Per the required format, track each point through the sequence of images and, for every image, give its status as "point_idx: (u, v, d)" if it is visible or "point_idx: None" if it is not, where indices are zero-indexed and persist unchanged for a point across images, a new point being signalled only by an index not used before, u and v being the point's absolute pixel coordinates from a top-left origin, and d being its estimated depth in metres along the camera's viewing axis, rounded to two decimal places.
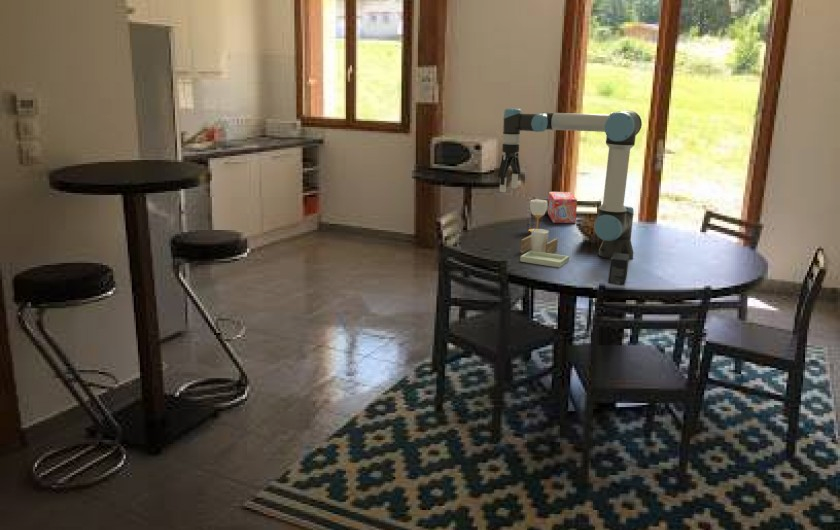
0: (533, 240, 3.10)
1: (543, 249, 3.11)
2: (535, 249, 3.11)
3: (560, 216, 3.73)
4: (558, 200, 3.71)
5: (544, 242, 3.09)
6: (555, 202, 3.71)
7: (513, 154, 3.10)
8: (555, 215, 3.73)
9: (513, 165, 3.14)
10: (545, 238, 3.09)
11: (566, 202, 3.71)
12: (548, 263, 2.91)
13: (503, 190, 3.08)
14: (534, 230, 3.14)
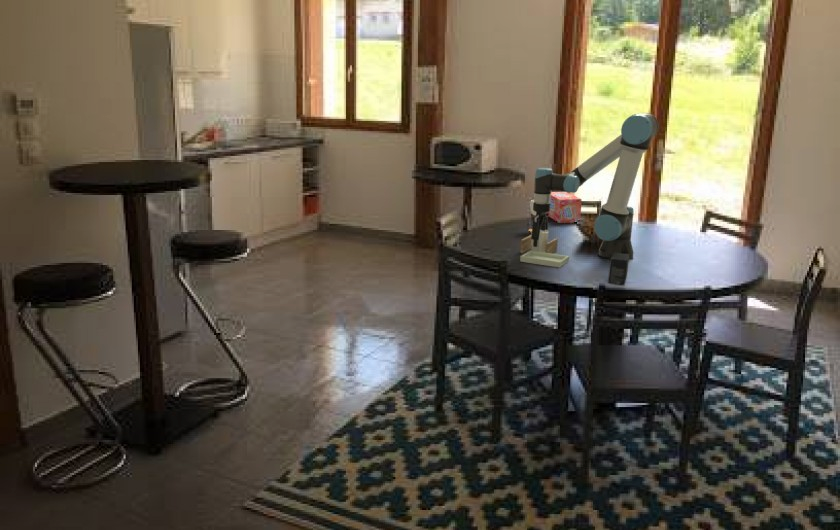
0: None
1: (543, 249, 3.11)
2: None
3: (566, 216, 3.73)
4: (564, 200, 3.70)
5: (544, 242, 3.09)
6: (561, 202, 3.71)
7: (544, 211, 3.09)
8: (561, 215, 3.72)
9: (542, 225, 3.13)
10: (545, 238, 3.09)
11: (571, 202, 3.71)
12: (548, 263, 2.91)
13: None
14: None
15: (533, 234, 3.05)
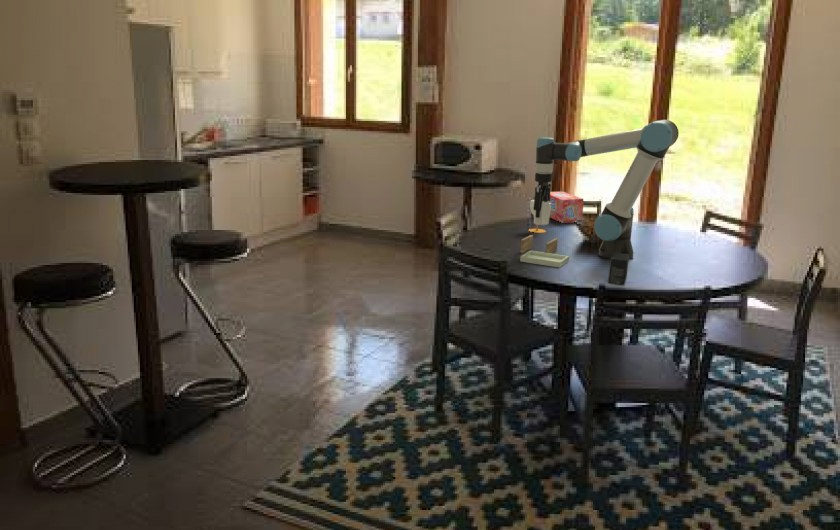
0: None
1: (546, 220, 3.07)
2: None
3: (568, 216, 3.73)
4: (566, 200, 3.70)
5: (546, 213, 3.06)
6: (564, 202, 3.71)
7: (546, 182, 3.06)
8: (564, 215, 3.72)
9: (544, 196, 3.09)
10: (547, 209, 3.05)
11: (574, 202, 3.72)
12: (548, 263, 2.91)
13: (538, 223, 3.06)
14: None
15: (535, 204, 3.02)
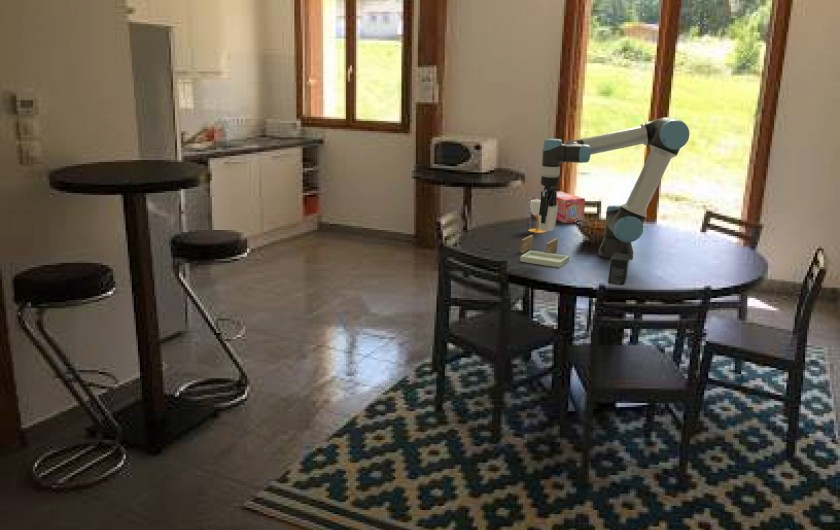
0: None
1: (551, 226, 2.91)
2: None
3: (571, 216, 3.73)
4: (569, 200, 3.71)
5: (552, 218, 2.90)
6: (566, 203, 3.71)
7: (553, 186, 2.90)
8: (566, 215, 3.72)
9: (551, 200, 2.93)
10: (553, 214, 2.90)
11: (576, 202, 3.72)
12: (548, 263, 2.91)
13: (544, 229, 2.90)
14: None
15: (541, 209, 2.86)
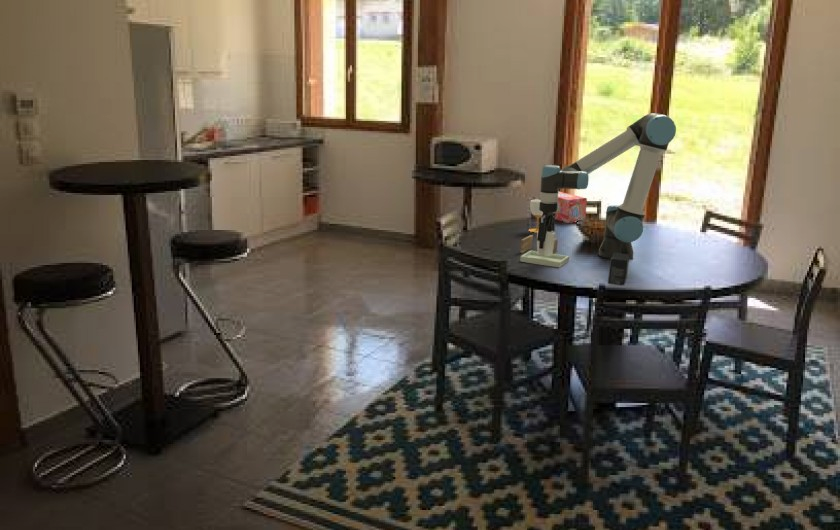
0: None
1: (549, 251, 2.94)
2: None
3: (574, 216, 3.74)
4: (572, 200, 3.71)
5: (550, 244, 2.93)
6: (569, 202, 3.71)
7: (551, 211, 2.93)
8: (569, 215, 3.73)
9: (549, 226, 2.96)
10: (552, 239, 2.93)
11: (578, 201, 3.73)
12: (548, 263, 2.91)
13: (542, 254, 2.93)
14: None
15: (539, 235, 2.89)
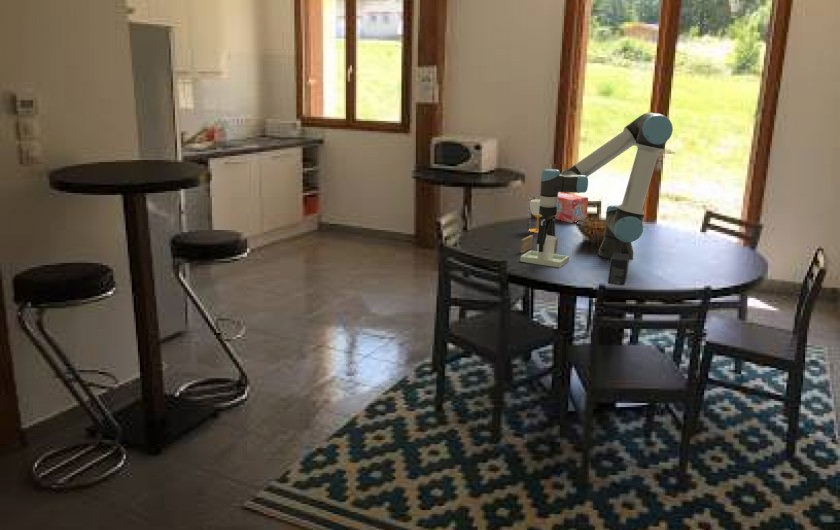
0: None
1: (550, 256, 2.95)
2: None
3: (576, 216, 3.75)
4: (575, 200, 3.72)
5: (551, 249, 2.94)
6: (573, 202, 3.71)
7: (551, 215, 2.93)
8: (573, 215, 3.73)
9: (549, 229, 2.97)
10: (552, 245, 2.94)
11: (581, 201, 3.74)
12: (548, 263, 2.91)
13: (541, 257, 2.93)
14: None
15: (539, 238, 2.89)
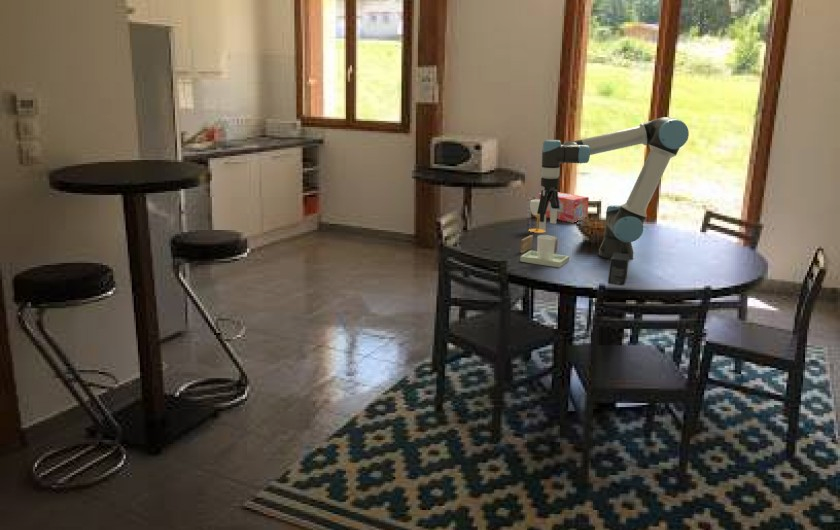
0: (539, 247, 2.95)
1: (550, 256, 2.95)
2: (541, 256, 2.95)
3: (578, 216, 3.75)
4: (577, 200, 3.72)
5: (551, 249, 2.94)
6: (574, 202, 3.72)
7: (552, 188, 2.90)
8: (574, 215, 3.74)
9: (552, 199, 2.94)
10: (552, 245, 2.94)
11: (582, 201, 3.75)
12: (548, 263, 2.91)
13: (543, 227, 2.88)
14: (540, 236, 2.99)
15: (540, 208, 2.84)
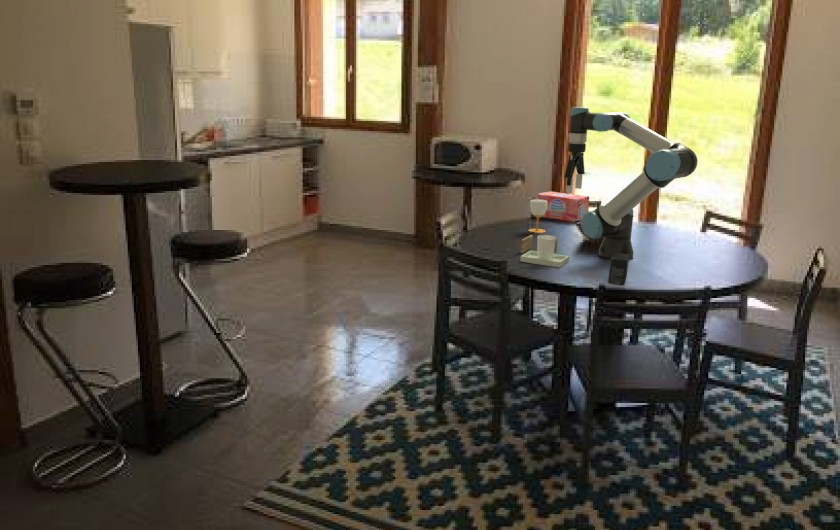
0: (539, 247, 2.95)
1: (550, 256, 2.95)
2: (541, 256, 2.95)
3: (581, 215, 3.77)
4: (580, 200, 3.73)
5: (551, 249, 2.94)
6: (578, 202, 3.73)
7: (579, 154, 3.02)
8: (578, 215, 3.75)
9: (578, 165, 3.06)
10: (552, 245, 2.94)
11: (584, 200, 3.77)
12: (548, 263, 2.91)
13: (569, 191, 3.00)
14: (540, 236, 2.99)
15: (567, 171, 2.96)
